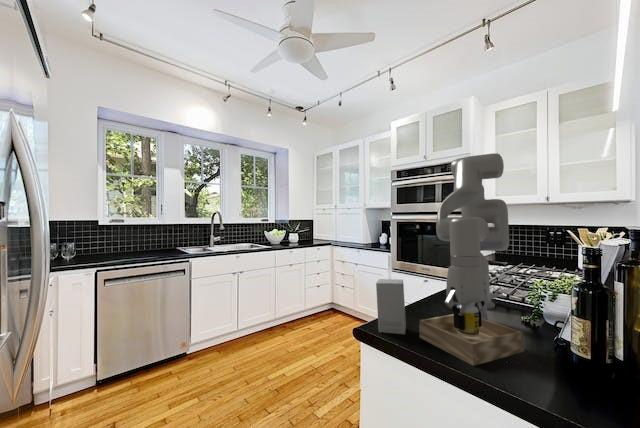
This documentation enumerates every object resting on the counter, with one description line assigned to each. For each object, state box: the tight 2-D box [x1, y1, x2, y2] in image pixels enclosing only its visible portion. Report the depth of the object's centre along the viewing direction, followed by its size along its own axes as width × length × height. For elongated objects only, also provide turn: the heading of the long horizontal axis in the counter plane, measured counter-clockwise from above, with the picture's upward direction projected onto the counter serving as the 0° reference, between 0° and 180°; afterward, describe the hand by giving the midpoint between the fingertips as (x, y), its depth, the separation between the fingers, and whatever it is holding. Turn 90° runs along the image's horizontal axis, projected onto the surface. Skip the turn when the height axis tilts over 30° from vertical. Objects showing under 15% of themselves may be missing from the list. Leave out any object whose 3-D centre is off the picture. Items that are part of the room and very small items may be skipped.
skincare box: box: [375, 278, 407, 335], centre depth 88 cm, size 8×7×16 cm
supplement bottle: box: [457, 302, 479, 337], centre depth 78 cm, size 5×5×10 cm
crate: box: [418, 313, 525, 367], centre depth 77 cm, size 18×18×5 cm
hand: (467, 326), depth 78 cm, fingers closed on supplement bottle, 5 cm apart
